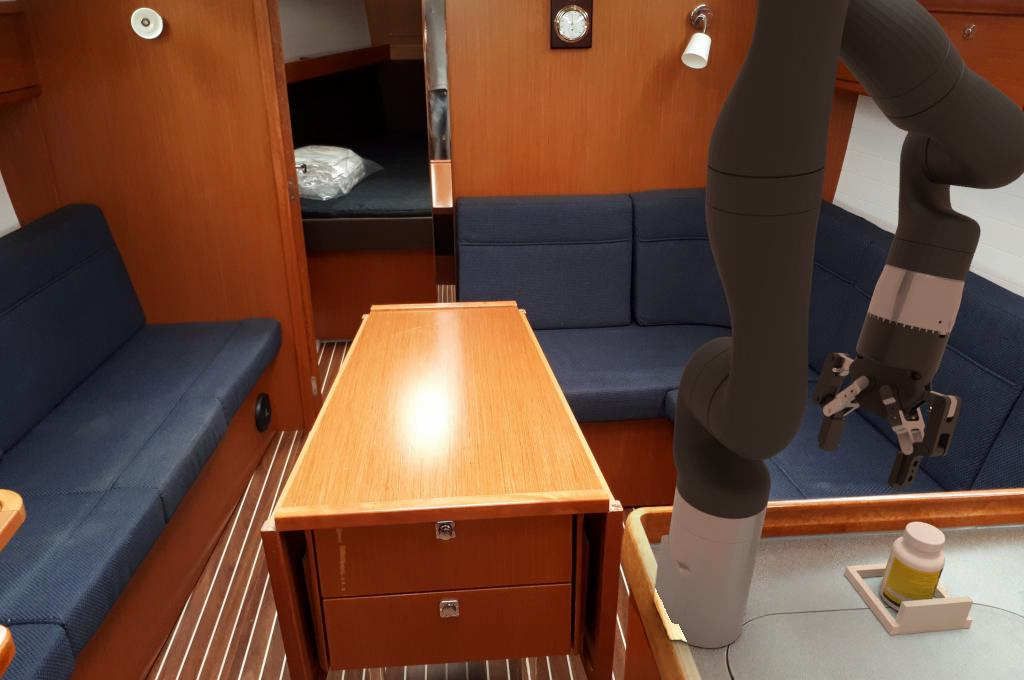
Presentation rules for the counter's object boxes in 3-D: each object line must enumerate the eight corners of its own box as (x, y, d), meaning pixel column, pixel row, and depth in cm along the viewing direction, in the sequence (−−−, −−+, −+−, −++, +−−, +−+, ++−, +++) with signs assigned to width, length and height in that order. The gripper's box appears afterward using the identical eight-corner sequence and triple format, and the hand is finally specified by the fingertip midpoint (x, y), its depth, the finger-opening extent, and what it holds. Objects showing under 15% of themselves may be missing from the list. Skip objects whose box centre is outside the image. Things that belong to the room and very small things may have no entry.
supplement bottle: (935, 620, 84) (959, 552, 80) (884, 612, 85) (905, 544, 81) (921, 586, 89) (943, 521, 85) (873, 579, 90) (892, 514, 85)
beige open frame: (890, 635, 82) (899, 607, 80) (844, 574, 90) (851, 548, 89) (969, 627, 83) (979, 600, 81) (916, 568, 92) (924, 542, 90)
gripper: (825, 296, 77) (782, 439, 81) (955, 337, 65) (897, 503, 69) (872, 301, 80) (829, 438, 84) (1003, 341, 68) (946, 499, 72)
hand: (860, 467), depth 76 cm, fingers open, 8 cm apart
